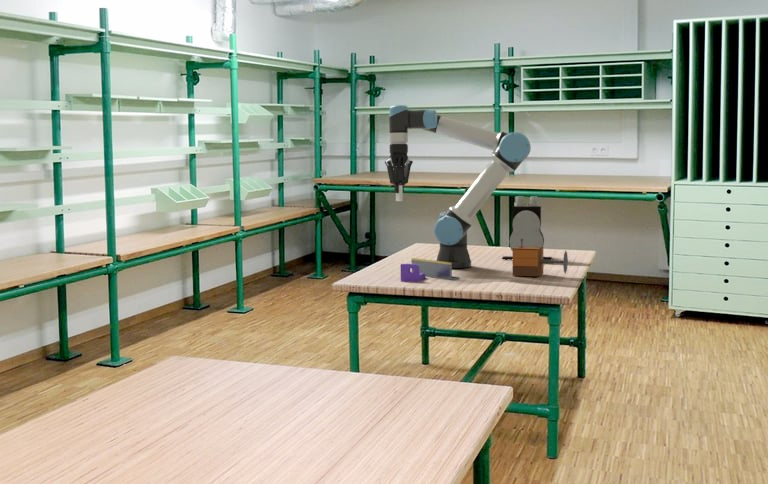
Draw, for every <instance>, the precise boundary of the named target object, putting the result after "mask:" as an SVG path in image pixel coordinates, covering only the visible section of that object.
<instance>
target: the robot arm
mask: <svg viewBox="0 0 768 484" xmlns="http://www.w3.org/2000/svg"><path fill="white" fill-rule="evenodd" d="M388 116H389V117H388V121H389V122H388V124H389V125H388V126H389V143H390V144H389V153H390V155H389V158H388V159H387V160H385V161H384V164H385V166H386V168H387V174H388V178H389V183H390V184H391V185H393V186H394V188H393V189H394V190H393V191H394V194H395V202H403V201H404V200H403V199H404V196H403V194H404V193H405V190H404V189H405V185H407V184H408V183H409V178H410V172H411V166H412V164H413V163H414V161H413V160H410V159H409V156H408V152H409V144H408V142H409V133H408V132H409V130H411V129H412V130H413V129H419V130H420V129H421V130H424V131H428V132H431V133H434V134H438V135H440V136H441V135H442V136H444V137H448V138H451V139H455V140H457V141H460V142H464V143H468V144H470V145H473V146H477V147H480V148H484V149H487V150H490V151H492V152H491V160H490V161H489V163H488V164H487V165H486V166H485V168H484V169H483V170H482V171H481V172H480V174H479V175H478V176H477V178H476V179H475V180H474V181H473V183H472V184H471V185H470V187H469V188H468V189H467V190H466V192H465V193H464V194H463V195H462V196H461V198H460V199H459V201H458V202H457V203H456V204H455V205H453V206H449V207H448V208H447V209H446V211H442V212H440V213H439V217H438V220H436V221H435V224H434V229H433V233H434V236H435V238H436V240H437V241H438V242H439V250H438V253H437V257H436V259H435V261H443V262H451V263H452V269H462V268H464V269H465V268H470V267H472V259H471V258H470V254H469V253H470V252H469V250H468V231H469V229H470V228H471V227H472V226H473V218H474V217H475V215H477V213H478V212H479V211H480V209H481V208H482V207H483V206H484V204H485V203H486V202H487V200H489V198H490V197H491V196H492V194H493V193H494V192H495V190H496V189H497V188H498V187H499V185H500V184H501V183H502V182H503V180H504V179H505V178H506V177H507V175H508V174H509V173H513V172H515V171H516V170H517V169H518V168H519V166H520V165H521V164H522V163H523V161H524V160H526V159H527V158H528V157H529V155H530V152H531V142H530V140H529V138H528V137H527V136H526V135H525V134H523V133H521V132H519V131H514V132H509V133H508V132H504V131H500V132H497V131H493V130H489V129H486V128H482V127H480V126H476V125H472V124H470V123H466V122H463V121H460V120H456V119H453V118H449V117H447V116H443V115H439V114H438V113H437V110H435V109H415V110H414V109H413V110H412V109H408V105H403V104H402V105H400V104H399V105H396V104H395V105H391V106H390V107H389V115H388Z"/></svg>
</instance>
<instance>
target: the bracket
mask: <svg viewBox="0 0 768 484" xmlns="http://www.w3.org/2000/svg"><path fill="white" fill-rule="evenodd" d="M412 269H413V273H412V271H411V270H412ZM426 277H427V276H425V274H424V273H419V266H418V265H417V264H412V263H400V282H407V283H410V282H411V283H413V282H414V283H415V282H416V283H419V282H421V281H423V280H425V279H426Z"/></svg>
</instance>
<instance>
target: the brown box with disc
mask: <svg viewBox="0 0 768 484" xmlns="http://www.w3.org/2000/svg"><path fill="white" fill-rule="evenodd" d="M522 241H523V239H521V246H518V247H515V248H513V251H512V256H513V260H512V276H521V277H522V276H523V277H524V276H525V277H539V276H541V275H542V274H544V264H545V265H546V264H548V265H549V264H550V265H554V264H562V265H563V266H562V267H563V273H564V274H565V275H566V274H567V271H568V264H569V263H568V261H569V260H568V257H569V256H568V252H567V250H566V249H565V251H564V254H563V260H561V259H560V260H558V259H557V260H556V259H555V260H554V259H552V260H550V259H543V257H544V246H543V247H537V246H522Z"/></svg>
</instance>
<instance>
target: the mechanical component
mask: <svg viewBox="0 0 768 484" xmlns="http://www.w3.org/2000/svg"><path fill="white" fill-rule="evenodd" d="M515 198H516V199H515V201H516V202H514V203H513V204H514V205H513V206H512V229H513V230H512V233H511V235H510V237H509V247H510V250H511V252H513V248H515V247H518V246H521V239H523V241H522V246H537V247H543V248H544V245H545V244H544V243H545V237H544V234H543V232H542V231H541V227H542V206H541V204H540V203H541V202H539V201H538V200H539V199H538V196H537V195H535V196H534V195H533V196H530V201H529V202H528V203H526V202H525V201H524V199H525V197H524V196H523V195H522V196H521V195H518V196H516V197H515ZM526 204H527V205H526ZM502 259H513V255H512V256H508V255H507V256H504V255H503V256H502V257H501V260H502ZM543 259H550V260H551V259H552V260H553V257H552V256H543Z"/></svg>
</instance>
